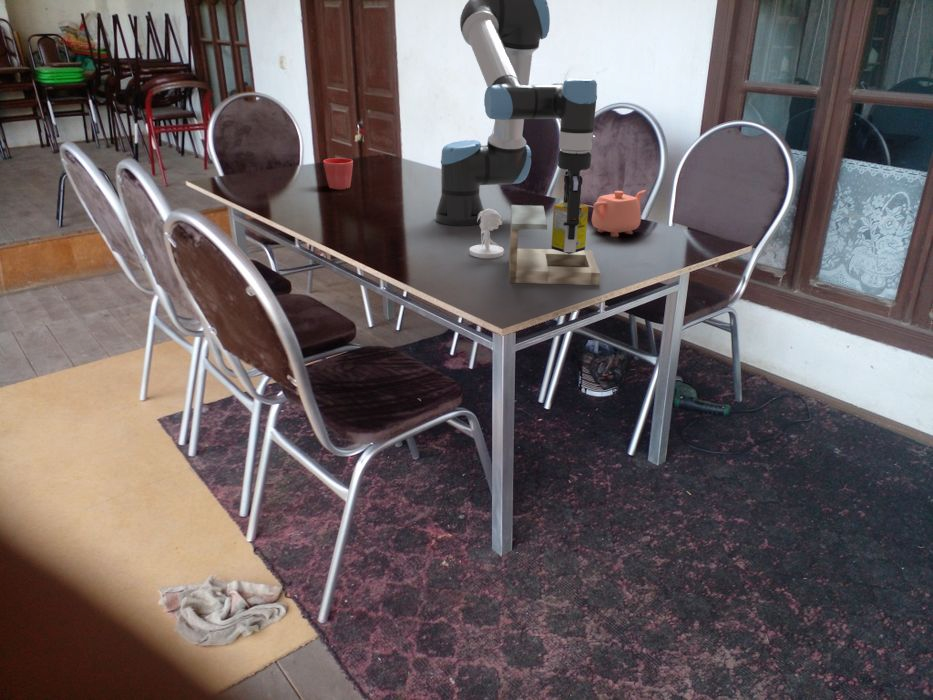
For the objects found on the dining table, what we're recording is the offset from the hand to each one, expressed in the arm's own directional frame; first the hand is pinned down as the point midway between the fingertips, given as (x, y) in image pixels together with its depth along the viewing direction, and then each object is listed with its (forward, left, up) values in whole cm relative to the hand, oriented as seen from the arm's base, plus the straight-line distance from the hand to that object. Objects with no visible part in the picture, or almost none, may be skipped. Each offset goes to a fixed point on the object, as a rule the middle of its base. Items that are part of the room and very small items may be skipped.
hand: (568, 246), depth 171 cm
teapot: (+18, +39, -7) cm, 44 cm away
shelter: (-4, 0, -7) cm, 7 cm away
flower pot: (-76, +91, -7) cm, 119 cm away
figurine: (-20, +14, -7) cm, 25 cm away
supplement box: (0, 0, -1) cm, 1 cm away
